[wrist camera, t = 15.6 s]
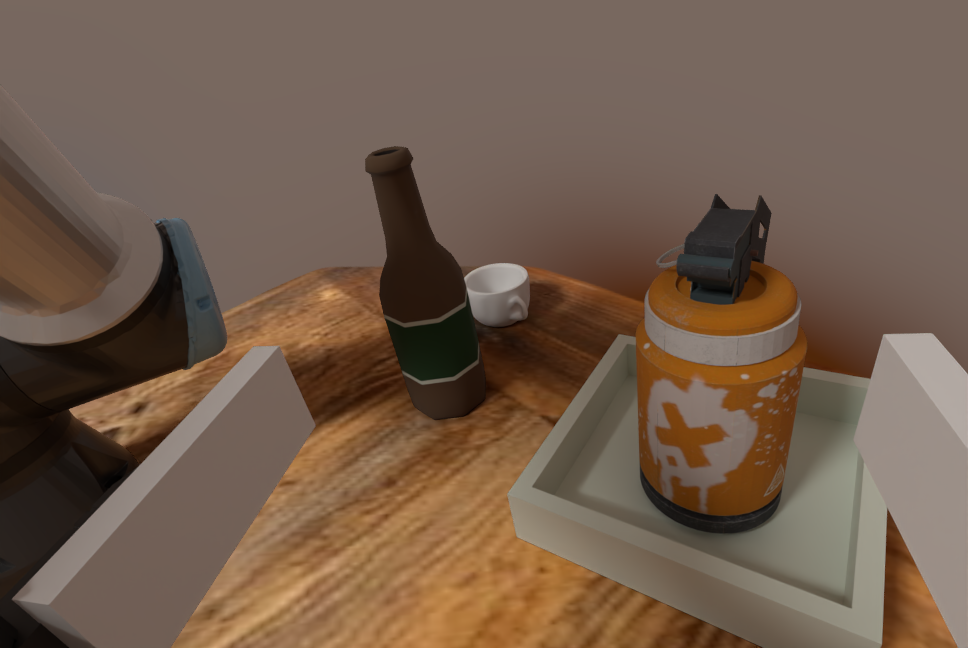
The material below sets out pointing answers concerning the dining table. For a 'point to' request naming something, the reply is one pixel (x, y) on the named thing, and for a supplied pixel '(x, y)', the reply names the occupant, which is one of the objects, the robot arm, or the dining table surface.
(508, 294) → the teacup
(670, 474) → the canister
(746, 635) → the tray
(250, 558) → the dining table surface
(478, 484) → the dining table surface
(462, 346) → the beer bottle
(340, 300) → the dining table surface
